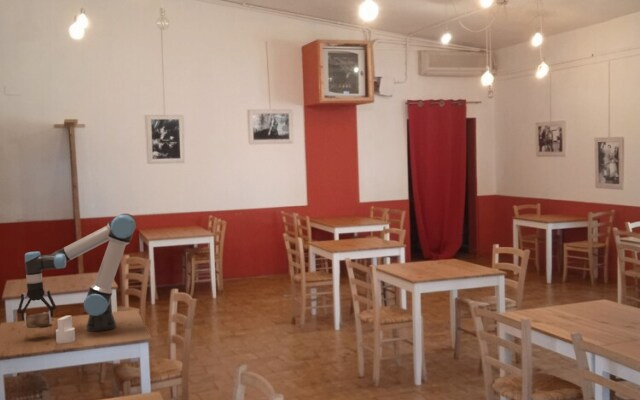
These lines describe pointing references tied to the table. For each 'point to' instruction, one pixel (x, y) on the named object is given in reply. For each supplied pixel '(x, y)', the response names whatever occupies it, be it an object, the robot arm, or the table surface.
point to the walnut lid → (37, 320)
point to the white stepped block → (65, 330)
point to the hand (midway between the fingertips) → (38, 324)
